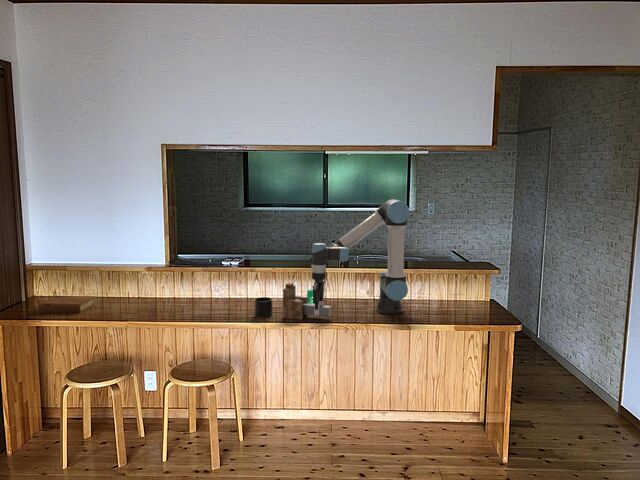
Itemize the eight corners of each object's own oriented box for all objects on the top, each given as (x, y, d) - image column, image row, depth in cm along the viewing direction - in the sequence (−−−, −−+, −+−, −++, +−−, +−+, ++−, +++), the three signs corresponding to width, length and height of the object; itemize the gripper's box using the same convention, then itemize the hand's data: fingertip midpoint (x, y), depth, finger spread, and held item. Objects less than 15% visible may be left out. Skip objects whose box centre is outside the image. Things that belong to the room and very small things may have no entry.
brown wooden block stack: (308, 314, 284) (308, 282, 281) (301, 319, 273) (301, 287, 271) (290, 312, 287) (290, 281, 285) (283, 317, 277) (283, 285, 274)
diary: (39, 314, 283) (38, 304, 282) (56, 305, 301) (55, 296, 301) (80, 313, 283) (79, 303, 282) (94, 305, 302) (94, 295, 301)
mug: (275, 312, 288) (275, 296, 287) (269, 318, 276) (269, 301, 275) (259, 311, 290) (258, 295, 288) (253, 317, 278) (252, 301, 277)
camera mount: (318, 309, 294) (319, 292, 293) (306, 309, 296) (306, 291, 294) (321, 304, 306) (322, 287, 305) (309, 303, 307) (309, 287, 306)
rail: (330, 315, 276) (331, 302, 275) (328, 317, 272) (329, 304, 271) (296, 310, 282) (296, 298, 281) (293, 312, 278) (294, 300, 277)
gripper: (317, 268, 282) (316, 309, 285) (306, 274, 266) (306, 317, 269) (330, 269, 280) (329, 310, 283) (320, 275, 263) (319, 318, 267)
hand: (318, 313), depth 276 cm, fingers closed on rail, 4 cm apart
